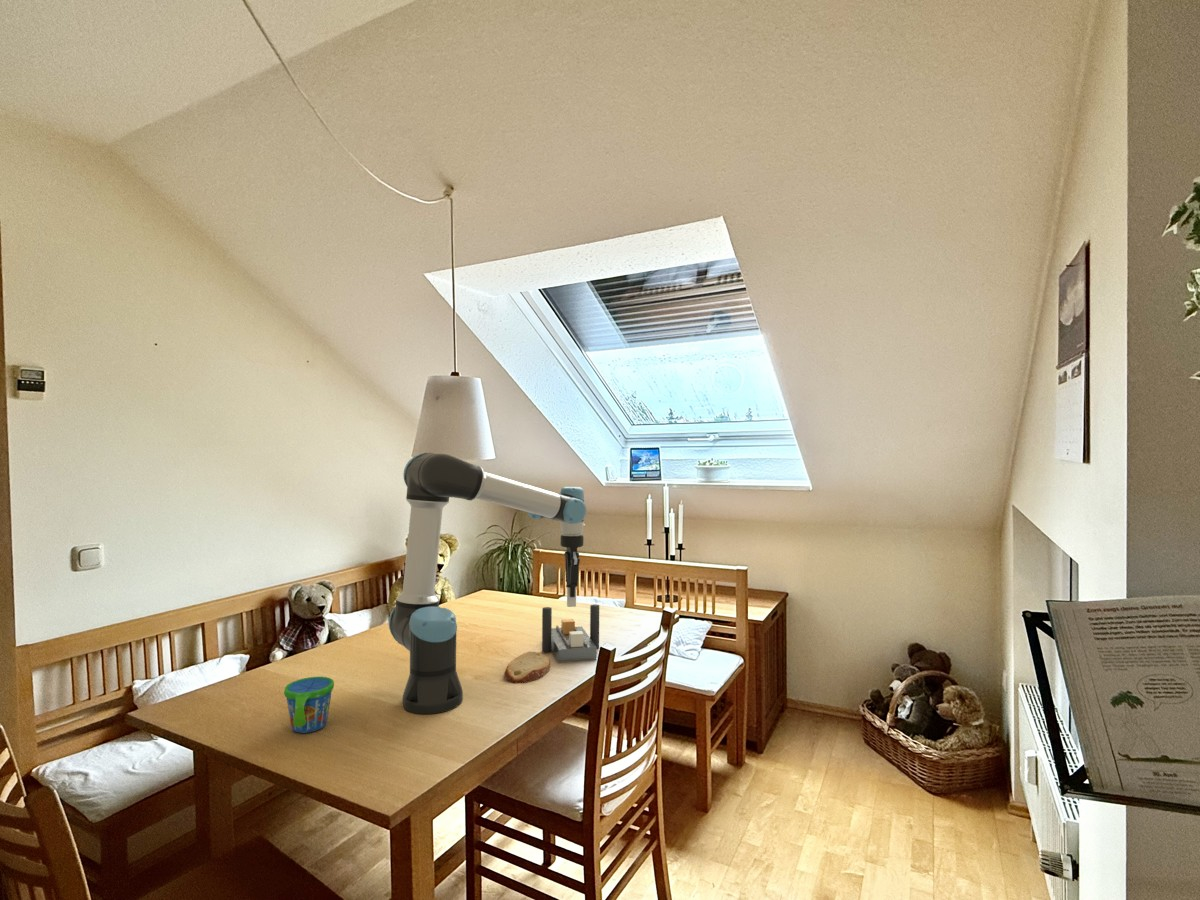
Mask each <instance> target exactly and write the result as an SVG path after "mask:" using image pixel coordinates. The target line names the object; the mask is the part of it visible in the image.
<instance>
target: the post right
mask: <svg viewBox="0 0 1200 900" xmlns="http://www.w3.org/2000/svg"><path fill="white" fill-rule="evenodd" d="M589 607H590V609H589V610H590V611H589V612H590V613H589V616H590V617H589V618H590V619H589V637H590V639H591V640H592V641H593V643H594V644H595V645H596V647H597V650H598V649H600V604H590V605H589Z"/></svg>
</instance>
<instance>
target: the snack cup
mask: <svg viewBox="0 0 1200 900" xmlns="http://www.w3.org/2000/svg"><path fill="white" fill-rule="evenodd" d="M334 687H335V681H334V679H332V678H331V677H327V676H311V677H305V678H300V679H296V680H294V681H292V682H290V683H288V684H287V685H286V686H285V687H284V692H283V695H284V696H285V698H286V703H287V709H288V715H289V721H290V728H291V730H292V732H295V733H300V734H307V733H313V732H315V731H318V730H322V729H323V728H324V727H325V726H326V725H327V722H328V718H329V713H330V711H329V710H330V706H331V699H332V692H333V689H334Z"/></svg>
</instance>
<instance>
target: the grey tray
mask: <svg viewBox="0 0 1200 900" xmlns="http://www.w3.org/2000/svg"><path fill="white" fill-rule="evenodd" d="M575 631H582V632H583V634H584V646H583V647H570V645H569V634H563V633H562V632H561V627H559V625H556V626H555V627H554V628H551V651H552V652H553V655H554V656H555V658H556V660H557V662H558V663H573V662H583V661H586V662H587V661H595V660H596V658H597V656H598V655H597V653H598V652H597V650H598V649H597V647H596V645H595V644H594V643H593V641H592V640H591V639H590V635H589V634H588V633H587V632H586V630H585V629H584V627H583V626H575Z"/></svg>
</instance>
